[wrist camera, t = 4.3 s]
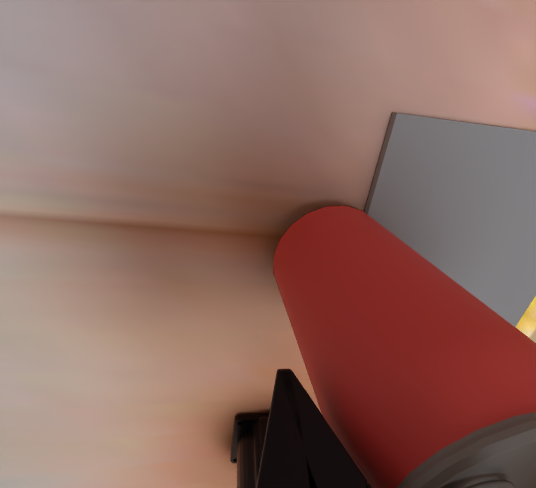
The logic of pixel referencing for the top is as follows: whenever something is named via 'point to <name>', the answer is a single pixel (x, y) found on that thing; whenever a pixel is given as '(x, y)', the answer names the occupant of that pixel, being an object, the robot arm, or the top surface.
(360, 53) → the top surface
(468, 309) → the beer can
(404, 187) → the mat
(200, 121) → the top surface
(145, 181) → the top surface
